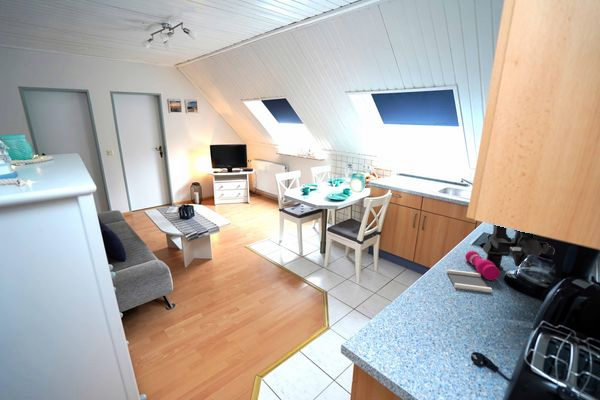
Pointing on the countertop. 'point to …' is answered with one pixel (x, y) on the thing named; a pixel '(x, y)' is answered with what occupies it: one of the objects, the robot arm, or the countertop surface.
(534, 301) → the countertop surface
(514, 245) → the robot arm
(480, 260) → the pepper mill
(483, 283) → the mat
